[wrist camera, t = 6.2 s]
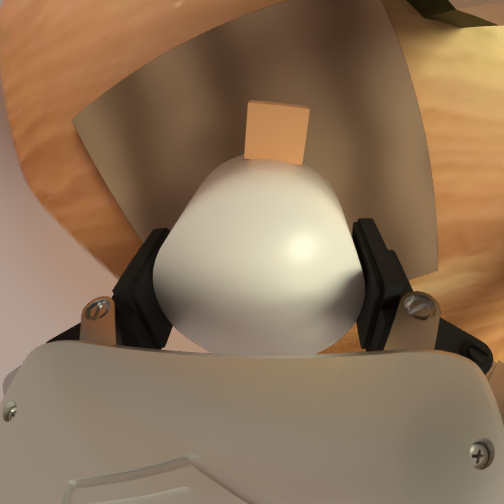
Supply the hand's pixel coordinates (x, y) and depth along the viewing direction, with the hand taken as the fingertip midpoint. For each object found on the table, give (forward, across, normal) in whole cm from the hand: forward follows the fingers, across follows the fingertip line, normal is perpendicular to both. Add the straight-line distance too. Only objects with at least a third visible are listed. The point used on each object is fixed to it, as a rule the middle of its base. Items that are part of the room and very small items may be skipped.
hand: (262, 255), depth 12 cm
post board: (+9, 0, 0) cm, 9 cm away
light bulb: (+2, 0, -1) cm, 3 cm away
